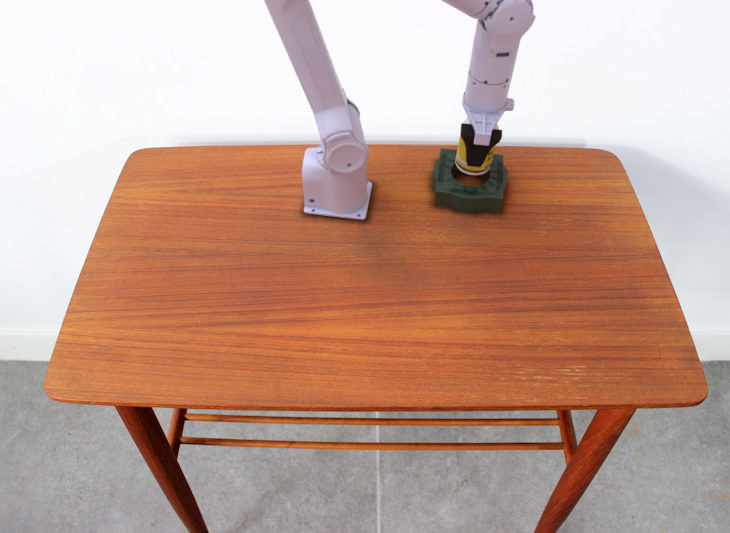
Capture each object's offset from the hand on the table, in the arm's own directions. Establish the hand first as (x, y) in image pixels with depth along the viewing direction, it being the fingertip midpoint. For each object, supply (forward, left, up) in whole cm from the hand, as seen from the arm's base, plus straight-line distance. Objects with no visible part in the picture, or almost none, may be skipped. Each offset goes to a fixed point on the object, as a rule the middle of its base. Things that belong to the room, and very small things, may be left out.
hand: (474, 151), depth 90 cm
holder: (0, 0, -7) cm, 7 cm away
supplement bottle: (0, 0, -3) cm, 3 cm away
